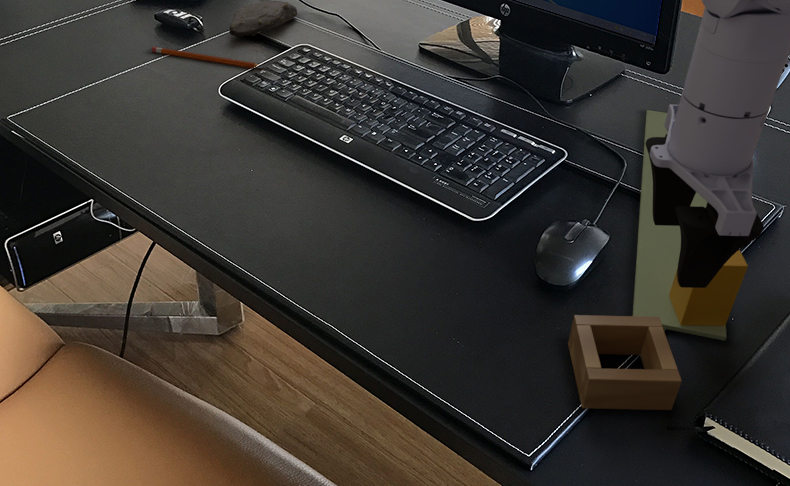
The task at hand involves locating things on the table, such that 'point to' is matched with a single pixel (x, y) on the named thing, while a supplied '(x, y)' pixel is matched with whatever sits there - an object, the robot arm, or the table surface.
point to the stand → (623, 385)
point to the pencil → (204, 57)
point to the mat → (660, 251)
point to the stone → (261, 17)
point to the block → (710, 296)
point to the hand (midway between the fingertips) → (678, 252)
